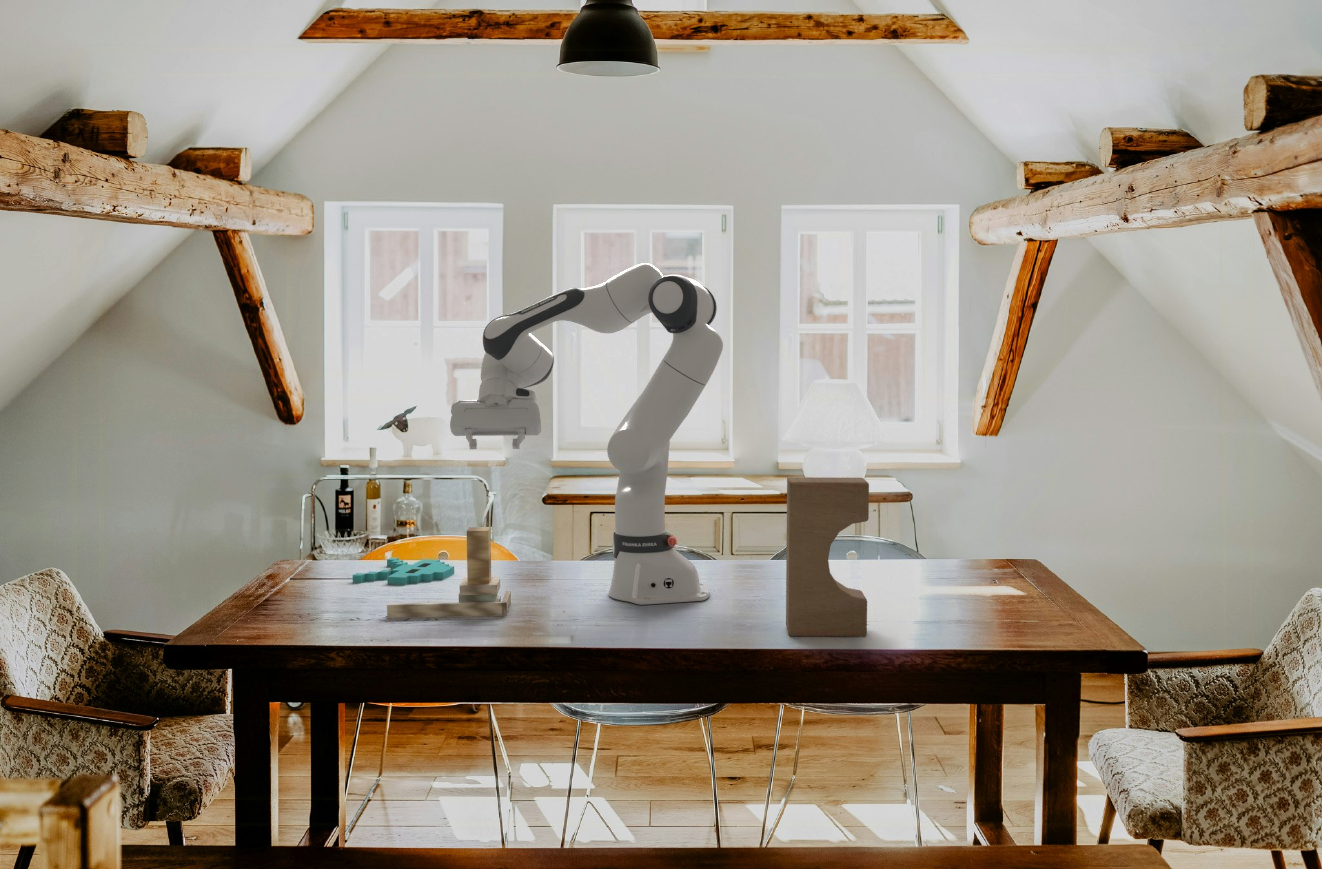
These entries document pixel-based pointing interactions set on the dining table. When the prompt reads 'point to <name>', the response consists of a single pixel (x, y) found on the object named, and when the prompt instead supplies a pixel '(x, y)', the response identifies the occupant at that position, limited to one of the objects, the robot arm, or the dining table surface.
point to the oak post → (479, 555)
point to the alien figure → (408, 572)
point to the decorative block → (822, 556)
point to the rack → (450, 609)
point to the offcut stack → (480, 591)
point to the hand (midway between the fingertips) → (494, 447)
